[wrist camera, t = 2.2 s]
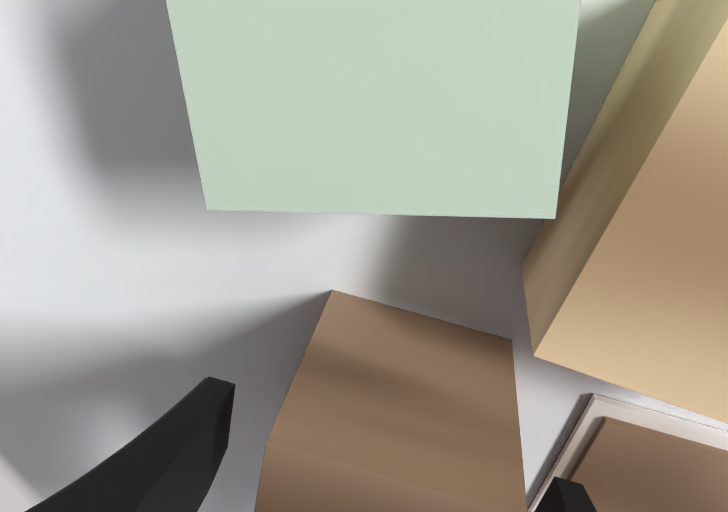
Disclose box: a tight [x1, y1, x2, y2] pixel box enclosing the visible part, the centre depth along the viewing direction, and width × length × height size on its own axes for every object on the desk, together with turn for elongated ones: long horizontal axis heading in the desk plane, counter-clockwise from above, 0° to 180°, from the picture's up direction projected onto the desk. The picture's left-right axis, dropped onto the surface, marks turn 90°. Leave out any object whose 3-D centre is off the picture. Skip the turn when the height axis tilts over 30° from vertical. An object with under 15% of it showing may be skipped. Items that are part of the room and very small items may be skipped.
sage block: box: [166, 0, 581, 219], centre depth 8 cm, size 4×4×5 cm
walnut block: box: [254, 290, 527, 512], centre depth 13 cm, size 4×4×5 cm
